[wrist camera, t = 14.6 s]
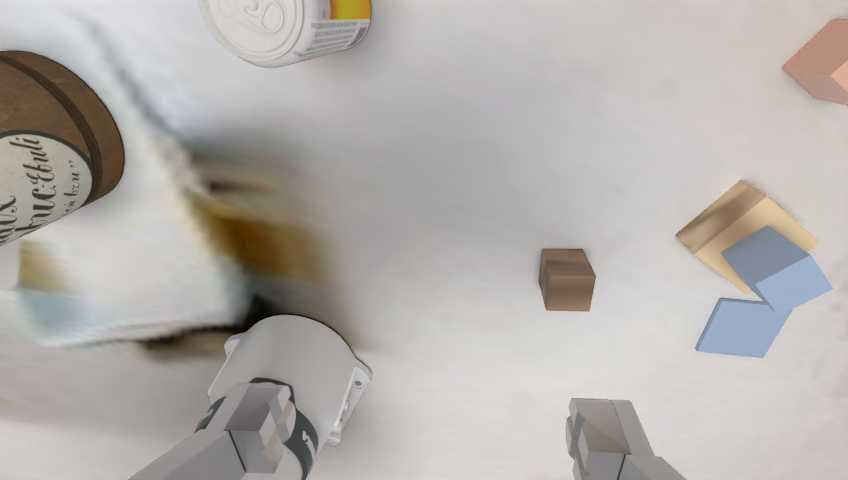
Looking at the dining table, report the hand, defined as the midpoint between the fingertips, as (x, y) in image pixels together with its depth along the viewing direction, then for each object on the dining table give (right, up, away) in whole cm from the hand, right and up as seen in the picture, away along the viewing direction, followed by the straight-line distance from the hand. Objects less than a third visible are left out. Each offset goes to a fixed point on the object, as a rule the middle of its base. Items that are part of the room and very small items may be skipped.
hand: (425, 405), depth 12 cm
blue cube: (+29, +4, +24) cm, 38 cm away
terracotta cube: (+31, +19, +20) cm, 41 cm away
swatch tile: (+34, -5, +32) cm, 47 cm away
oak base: (+29, +6, +27) cm, 40 cm away
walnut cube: (+14, +2, +31) cm, 34 cm away
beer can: (-7, +24, +21) cm, 33 cm away
